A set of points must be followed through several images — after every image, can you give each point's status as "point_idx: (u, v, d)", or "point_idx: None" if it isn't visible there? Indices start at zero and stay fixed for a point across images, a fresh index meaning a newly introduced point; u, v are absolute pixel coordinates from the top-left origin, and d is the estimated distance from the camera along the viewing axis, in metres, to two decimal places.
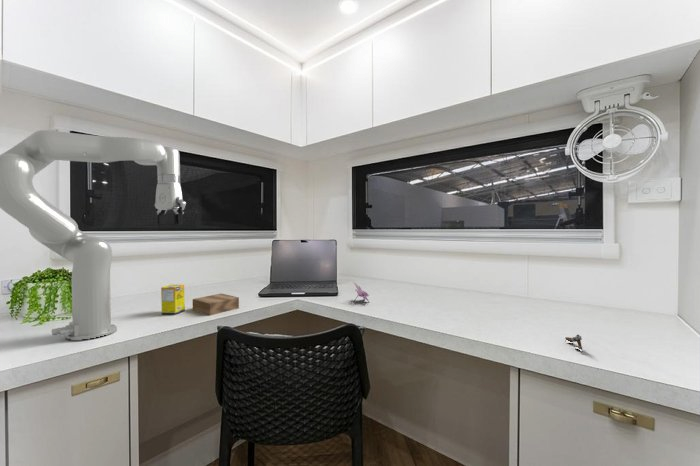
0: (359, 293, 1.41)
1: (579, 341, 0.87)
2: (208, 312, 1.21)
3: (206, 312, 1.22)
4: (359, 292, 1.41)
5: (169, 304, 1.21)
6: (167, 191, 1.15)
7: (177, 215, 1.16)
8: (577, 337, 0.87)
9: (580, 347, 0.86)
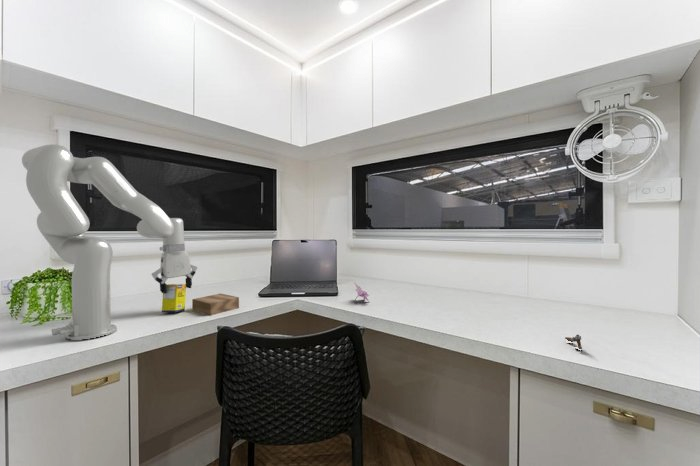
0: (359, 293, 1.41)
1: (579, 341, 0.87)
2: (209, 312, 1.21)
3: (207, 312, 1.22)
4: (359, 292, 1.41)
5: (170, 302, 1.22)
6: (185, 259, 1.25)
7: None
8: (577, 337, 0.87)
9: (580, 347, 0.86)
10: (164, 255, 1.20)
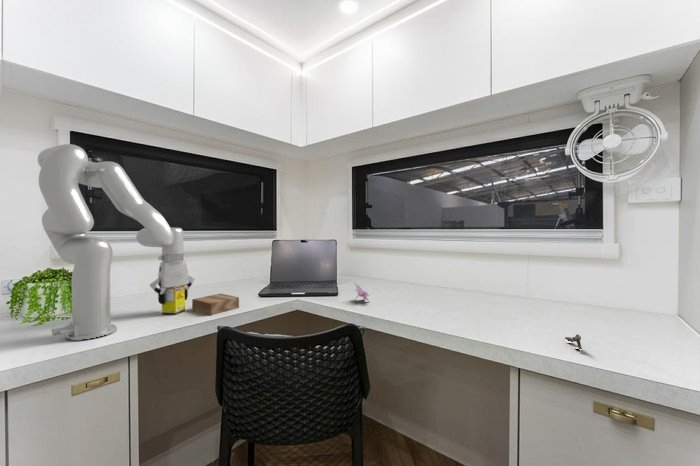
0: (359, 293, 1.41)
1: (578, 341, 0.87)
2: (209, 312, 1.21)
3: (207, 312, 1.22)
4: (359, 292, 1.41)
5: (169, 304, 1.21)
6: (183, 269, 1.25)
7: None
8: (576, 337, 0.87)
9: (579, 347, 0.86)
10: (162, 264, 1.19)
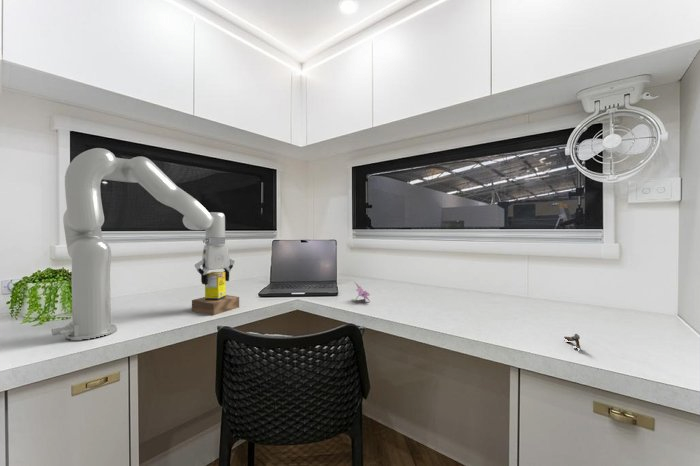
0: (360, 293, 1.42)
1: (577, 340, 0.87)
2: (212, 312, 1.21)
3: (209, 312, 1.22)
4: (360, 292, 1.42)
5: (212, 290, 1.26)
6: (225, 252, 1.30)
7: (228, 272, 1.33)
8: (575, 336, 0.88)
9: (578, 346, 0.87)
10: (207, 247, 1.24)
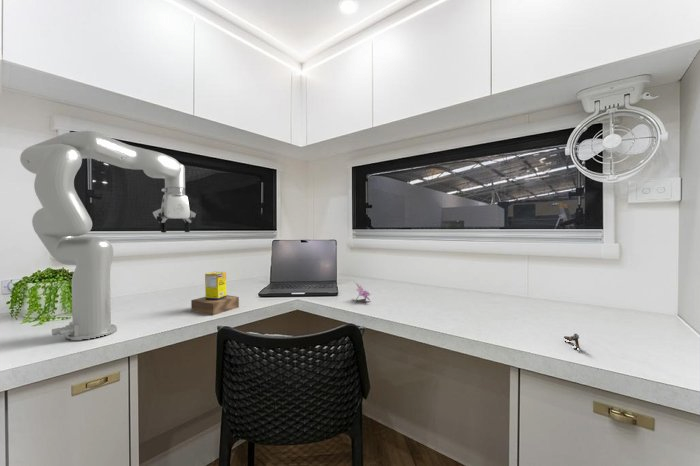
0: (360, 292, 1.42)
1: (576, 340, 0.88)
2: (211, 312, 1.21)
3: (208, 312, 1.22)
4: (360, 291, 1.42)
5: (212, 290, 1.27)
6: (185, 203, 1.32)
7: None
8: (574, 336, 0.88)
9: (577, 346, 0.87)
10: (165, 196, 1.27)
